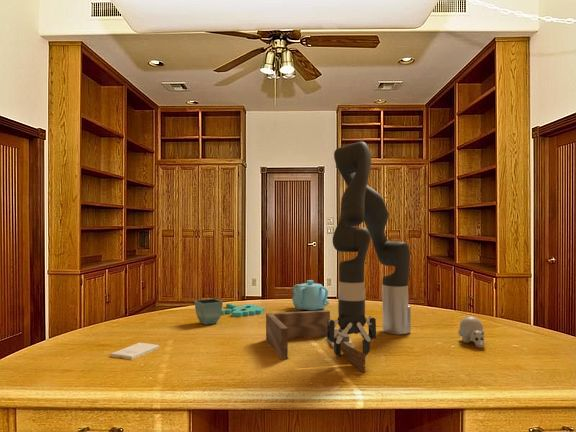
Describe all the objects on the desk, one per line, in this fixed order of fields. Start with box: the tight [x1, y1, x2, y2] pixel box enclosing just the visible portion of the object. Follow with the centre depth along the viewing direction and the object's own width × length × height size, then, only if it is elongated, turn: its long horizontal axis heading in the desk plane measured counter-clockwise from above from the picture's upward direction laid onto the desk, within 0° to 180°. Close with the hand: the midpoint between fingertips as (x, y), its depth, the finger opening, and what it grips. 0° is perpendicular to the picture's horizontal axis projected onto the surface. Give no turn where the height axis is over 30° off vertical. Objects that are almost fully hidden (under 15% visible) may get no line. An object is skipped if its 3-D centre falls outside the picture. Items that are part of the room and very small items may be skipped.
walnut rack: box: [265, 309, 331, 360], centre depth 138 cm, size 22×22×9 cm
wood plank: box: [340, 341, 367, 374], centre depth 121 cm, size 15×2×5 cm, turn 18°
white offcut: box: [331, 338, 353, 349], centre depth 140 cm, size 6×12×2 cm, turn 3°
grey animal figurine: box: [457, 315, 485, 349], centre depth 140 cm, size 7×12×8 cm, turn 178°
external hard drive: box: [109, 342, 160, 360], centre depth 132 cm, size 2×8×12 cm
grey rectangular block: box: [334, 328, 350, 342], centre depth 141 cm, size 5×10×2 cm, turn 0°
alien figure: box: [221, 303, 265, 318], centre depth 193 cm, size 20×2×20 cm
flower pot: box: [194, 298, 224, 326], centre depth 170 cm, size 9×9×9 cm
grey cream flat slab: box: [323, 336, 357, 349], centre depth 140 cm, size 7×14×2 cm, turn 9°
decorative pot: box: [291, 279, 330, 311], centre depth 199 cm, size 16×16×14 cm
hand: (351, 355), depth 120 cm, fingers open, 8 cm apart
